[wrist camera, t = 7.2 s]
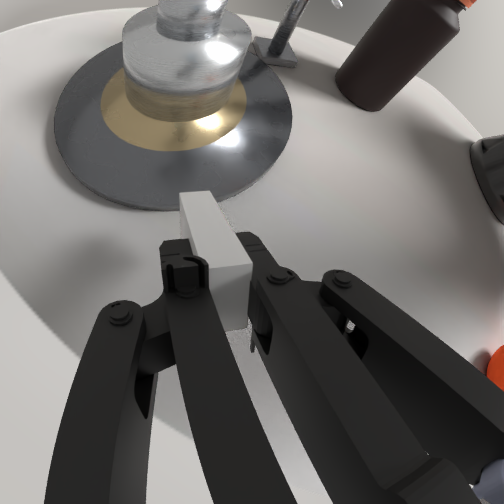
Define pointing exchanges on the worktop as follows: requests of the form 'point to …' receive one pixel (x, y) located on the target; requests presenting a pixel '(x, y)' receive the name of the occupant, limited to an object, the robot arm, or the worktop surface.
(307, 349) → the robot arm
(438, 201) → the worktop surface
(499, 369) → the clementine
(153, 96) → the cover
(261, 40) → the dial gauge stand
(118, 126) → the grey plate
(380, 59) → the bottle
